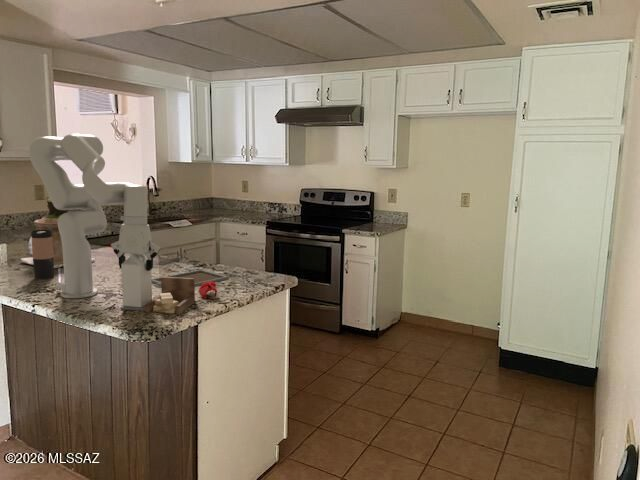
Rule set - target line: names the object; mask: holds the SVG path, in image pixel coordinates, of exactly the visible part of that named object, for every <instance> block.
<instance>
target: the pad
mask: <svg viewBox="0 0 640 480" xmlns="http://www.w3.org/2000/svg"><path fill="white" fill-rule="evenodd" d="M120 310H128V311H131V310H132V311H145V306H143V307H130V306H123V305H122V306H120Z"/></svg>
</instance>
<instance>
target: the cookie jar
mask: <svg viewBox="0 0 640 480" xmlns="http://www.w3.org/2000/svg"><path fill="white" fill-rule="evenodd" d="M46 202H47V205H46V207H47V208H48V209H47V210H48V211H49V213H48V214H46V215H45V216H43V217H42V218H41V219H36V220H34V221H33V225H34V227H35V230H51V231H52V243H53V256H54V269H58V268H59V269H60V268H62V267H64V264H63V250H62V241H61V236H60V232H59V229H58V219H59V217H60V216H61V215H62V214H64V213H67V212H70V210H58V209H56V208H55V206H54V205H53V203H52V201H51V199H50V197H49V195H48V196H46ZM91 259H92V263H94V262H95V261H96V258H95V257H93V256H91ZM20 261H21V262H22V263H21V264H28V265H31V266H34V264H33V256H32V257H22V258H20Z"/></svg>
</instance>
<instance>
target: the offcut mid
mask: <svg viewBox="0 0 640 480" xmlns="http://www.w3.org/2000/svg"><path fill="white" fill-rule="evenodd" d="M178 304H179V302H178V301H175V300H173V303H166V304H162V303H161V301H160V299H157V300H155V306H159V307H162V308H165V309H168V310H170V309H174V308H176V306H177V305H178Z"/></svg>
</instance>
